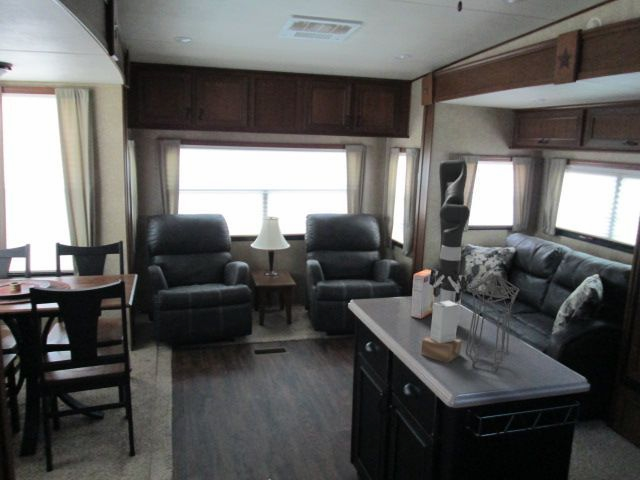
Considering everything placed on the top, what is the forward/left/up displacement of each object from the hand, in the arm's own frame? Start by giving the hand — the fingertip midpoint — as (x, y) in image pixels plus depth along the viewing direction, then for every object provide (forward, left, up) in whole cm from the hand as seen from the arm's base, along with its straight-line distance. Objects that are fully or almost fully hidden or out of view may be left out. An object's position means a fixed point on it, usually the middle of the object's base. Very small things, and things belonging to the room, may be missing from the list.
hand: (446, 299), depth 200 cm
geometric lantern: (-2, +17, -23) cm, 28 cm away
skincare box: (0, 0, -17) cm, 17 cm away
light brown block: (0, 0, -22) cm, 22 cm away
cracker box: (-39, -30, -23) cm, 54 cm away
